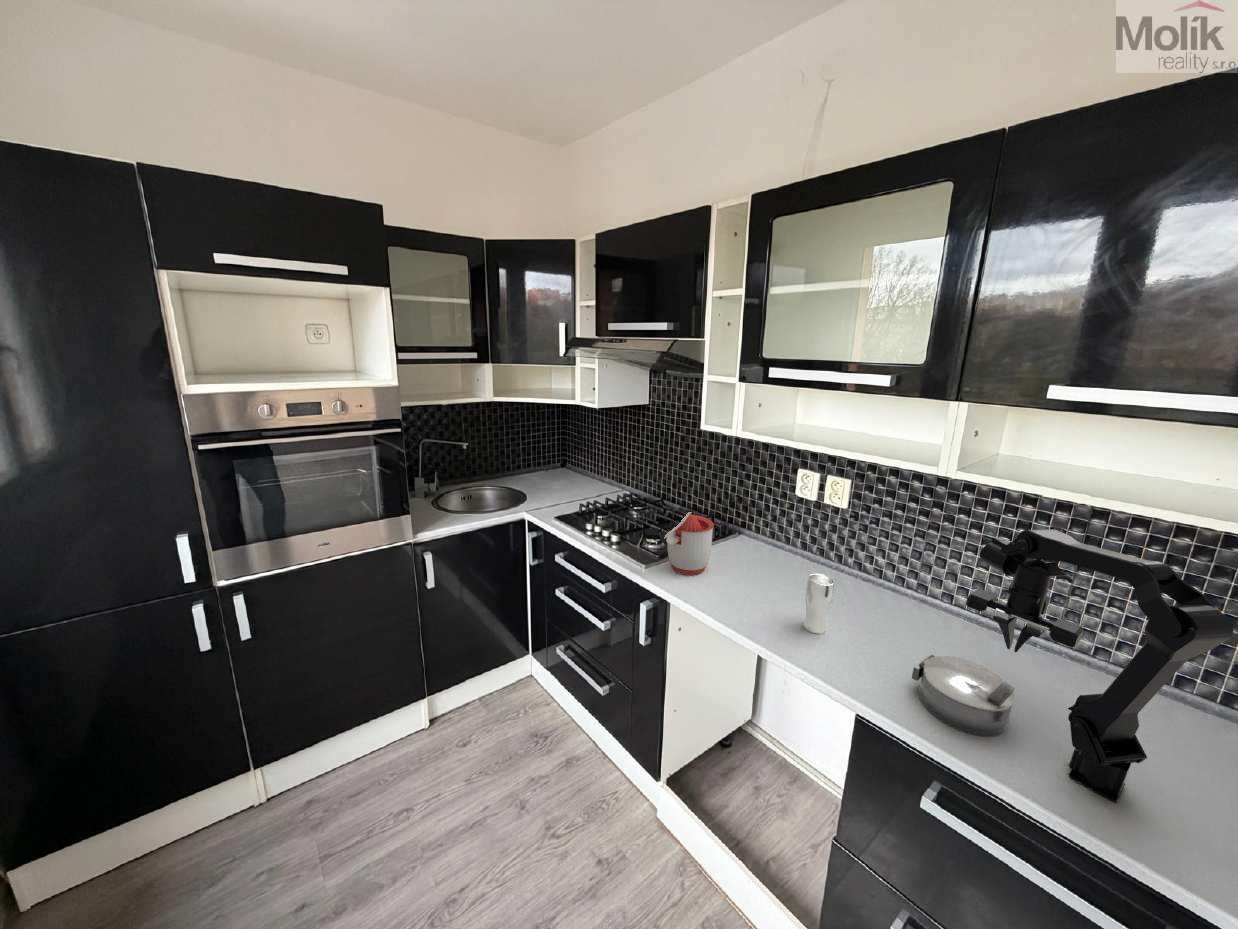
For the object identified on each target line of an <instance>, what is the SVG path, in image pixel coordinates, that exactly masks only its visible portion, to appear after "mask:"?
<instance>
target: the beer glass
mask: <svg viewBox="0 0 1238 929" xmlns="http://www.w3.org/2000/svg"><path fill="white" fill-rule="evenodd" d="M805 586H806V587H805V612H806V613H805V618H804V621H803V623H802V627H803V628H804V629H805V630H806V631H807V632H809V633H812V634H815V635H822V634H824V633H826V632H827V630H828V628H827V618H828V614H829V611H830V609H831V606H832V603H833V599H834V593H835V591H834V590H835V580H834V578H832V577H831V576H829V575H827V574H823V573H812V574H811V573H810V574H809V575H808V579H807V582H806V585H805Z"/></svg>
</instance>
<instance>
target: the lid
mask: <svg viewBox="0 0 1238 929" xmlns="http://www.w3.org/2000/svg"><path fill="white" fill-rule="evenodd" d="M928 656H929V657H928V658H927V659H925V658H924V659H925V660H924V661H923V662H922V663H920V662H919V663H920V664H919V667H920V668H924V669H923V672H924V675H925V677H926V679H927V680H928V682H929V683H930V684H931V685H932V686H933V687H934V688H935V689H936V690H938V691H939V692H940V693H942V694H943V695H945V696H947V697H948V698H950V699H952V700H954V701H956V702H958V703H960V704H963V705H965V706H968V707H971V708H975V709H979V710H984V711H1003V710H1007V709H1009V708H1010V707H1011V706H1012V707H1013V705H1012V704H1014V701H1015V694H1014V691H1015V687H1014V686H1012V685H1011V684H1009V683H1008V682H1007V681H1006V680H1004V679H1003V678H1002V677H1001V676H1000V675H998V674H997V673H996V672H994V671H992V670H990V669H989V668H987V667H985V666H983V665H980V664H978V663H976V662H973V661H971V660H967V659H965V658H961V657H956V656H950V655H949V656H948V655H938V656H937V655H936V656H935V655H934V654H930V655H928Z"/></svg>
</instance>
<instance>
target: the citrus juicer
mask: <svg viewBox="0 0 1238 929" xmlns="http://www.w3.org/2000/svg"><path fill="white" fill-rule="evenodd" d="M714 527H715V525H714V522H713V521H712V520H711V519H709V518H707V517H705V516H702V515H697V514H692V513H689V514H688V515H687V517H686V518H685V519H684V520H683V521H682V523H681V524H680V525H679V526H678V527H677V528H675V529H674V530H673V531H672V532H670V533H669V534H668V535H667V536H666V538H665V539H666V543H667V555H668V560H669V564H670V566H671V569H672V570H673V571H675V572H677V573H679V574H681V575H682V574H683V575H685V576H691V575H699V574H701V573H703V572H704V571H705V569H706V568H707V566H708V564H709V560H710V559H711V552H712V544H713V543H712V542H713V530H714V529H713V528H714Z"/></svg>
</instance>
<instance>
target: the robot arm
mask: <svg viewBox="0 0 1238 929" xmlns="http://www.w3.org/2000/svg"><path fill="white" fill-rule="evenodd" d="M979 558H980V560H981V562H982V563H984V564H986V565H988V566H989V567H991V568H993V569H995V570H997V571H999V572H1000V573H1003V574H1004V575H1007V576H1013V578H1012V581H1011V583H1010V585H1009V586H1008V588H1007V589H1008V590H1007V595H1008V597H1007V600H1006V603H1003V602H1000V601H998V595H997V594H995V593H992V592H989V591H986V590H984V589H981V588H978V589H975V590H974V591H972V592H971V593H970V594H968V595H967V597H966V602H965V606H967V607H968V608H971V609H974V610H975V611H979V612H984V611H986V610H987V609H988V608H989V609H993V610H995V614H994V616H992V620H993V621H995V622H996V623H997V624H998V626H999V629H1000V631H1001V633H1002V636H1003V639H1004V642H1005V647H1006V649H1007V650H1011V649H1012V645H1013V643H1014V636H1015V628H1016V623H1017V619H1018V620H1021V621H1023V622H1026V625H1025V626H1024V627H1022V628H1021V630H1020V633H1019V635H1018V637H1017V641H1016V643H1015V645H1014V650H1013V653H1017V652H1019V650H1020V649H1022V647H1023V646H1024V645H1025V643H1027V641H1029V640H1030V639H1031V638H1032V637H1035V638H1041V636H1043V634H1044V633H1046V632H1047V631H1049V634H1048V635H1049V637H1050V638H1051V640H1052V641H1054V642H1056V643H1059V644H1062V645H1064V646H1066V647H1069V648H1075V647H1076V646H1077V645H1078V643H1079V642H1080V641H1081V640H1082V639H1083V635H1084V629H1083V627H1082V625H1079V624H1077V623H1074V622H1071V621H1069V620H1065V619H1063V618H1058V619H1057V620H1056V621H1055V622H1054V621H1052V620H1050V619H1047V618H1046V617H1043V616H1044V615H1045V613H1046V611H1047V610H1048V606H1049V604H1050V601H1051V597H1049V596H1047V595H1048V589H1049V586H1050V583H1051V579H1052V577H1064V576H1065V572H1064V570H1063V569H1062V568H1061V567H1060V566H1059V565H1058V563H1057V562H1062V563H1067V564H1070V565H1073V566H1077V567H1080V568H1083V569H1087V570H1090V571H1093V572H1096V573H1100V574H1104V575H1107V576H1109V577H1110V576H1111V577H1113V578H1116V579H1120V580H1124V581H1126V582H1128V583H1129V584H1130V585H1131V586H1132V587H1133V588H1134V593H1135V598H1136V602H1137V605H1138V607H1139V609H1140V610H1141V612H1142V613H1143V614H1144V615H1145V616H1146V618H1147V622H1146V624H1145V626H1144V634H1145V643H1144V644H1143V646H1142V647H1141V648H1140V649H1139V650H1138V652H1136V654H1134V656H1133V657H1132V659H1130V661H1129V662H1128V663H1127V664H1126V666H1125V667H1124V668H1123V670H1121V671H1120V673H1118V675H1117V676H1116V677H1115V679H1114V680H1113V681H1112V682H1111V684H1109V686H1108V687H1107V688H1106V690H1105V691H1104V692H1103V693H1090V694H1080V695H1079V696H1078V697H1077V698H1076V700H1075V702H1074V704H1073V705H1071V706H1069V707H1067V709H1068V710H1069V711H1070V712H1069V714H1068V718H1067V720H1068V722H1069V727H1070V735H1071V736H1070V737H1071V745H1072V747H1073V748H1074V750H1073V752H1072V755H1071V759H1070V762H1069V764H1068V768H1069V769H1070V771H1069V773H1068V777H1069V778H1070V779H1071V780H1074V781H1075V782H1076V783H1079V784H1081V785H1083V786H1084V787H1086V788H1088V789H1090V790H1091V791H1093V792H1095V793H1096V794H1099V795H1100V796H1102V797H1103V798H1106V799H1107V800H1109V801H1111V802H1112V803H1115V804H1116V803H1118V801H1119V799H1120V797H1121V795H1122V793H1123V790H1124V789H1125V786H1126V783H1125V781H1126V779H1127V777H1128V774H1129V770H1130V768H1131V766H1132V765H1131V764H1134V763H1136V764H1141V763H1143V762H1144V761H1145V760H1147V759H1148V756H1147V754H1146V752H1145V750H1144V749H1143V746H1142V745H1141V743H1140V740H1139V739H1138V737H1137V735H1136V733H1137V731H1138V729H1139V727H1140V723H1139V716H1138V715H1139V713H1140V711H1142V709H1143V708H1145V707H1146V705H1147V704H1148V703H1149V702H1151V700H1152V698H1154V697H1155V695H1156V694H1158V693H1159V691H1160V690H1161V689H1162V688H1163V687H1164V686H1165V685H1166V684H1167V682H1169V680H1171V678H1172V677H1173V676H1174V675H1175V674H1176V673H1177V672H1178V671H1179V670H1180V669H1181V668H1182V667H1183V666H1184V664H1185V663H1186V662H1187V661H1189V660H1190V659H1193V658H1195V657H1198V656H1199V655H1203V654H1204V653H1207V652H1209V651H1212V650H1213V649H1215V648H1217V647H1218V646H1220V645H1222V644H1223V643H1225V642H1226V641H1228V640H1229V639H1231V637H1232V636H1233V634H1234V627H1233V626H1232V625H1231V621H1230V620H1229V619H1228V617H1227V616H1226V614H1224V613H1223V612H1222V611H1221V610H1219V609H1217V607H1216V606H1214V604H1213V603H1212V602H1211V600H1209V599H1208V597H1207V596H1206V595H1205V594H1204V593H1202V592H1201V591H1199V589H1196V588H1195V587H1193V586H1192V585H1191V584H1189V583H1188V582H1187V581H1185V580H1183V579H1182V578H1181V577H1180V576H1179V575H1178V574H1177V573H1176V572H1175V570H1174V569H1173V568H1172V567H1171V566H1170V565H1168V564H1166V563H1163V562H1161V561H1159V560H1158V561H1156V560H1155V561H1154V560H1148V559H1144V558H1140V557H1136V556H1133V555H1128V554H1125V553H1122V552H1121V553H1120V552H1116V551H1113V550H1109V549H1105V548H1101V547H1097V546H1093V545H1089V544H1085V543H1082V542H1079V541H1077V540H1076V539H1075V538H1073V537H1072V536H1071V535H1069V534H1067V533H1064V532H1062V531H1061V530H1060V531H1059V530H1057V529H1051V528H1049V529H1048V528H1047V529H1024V530H1022V531H1021V532H1019V533H1018V535H1017V536H1016V538H1015V539H1013V540H1012V541H1007V540H1006V539H1005V538H1003V537H1001V536H997V537H996V536H994V537H991V541H990V542H987V544H985V545H984V547H982V549H981V550H980V551H979ZM1047 561H1050V562H1047ZM1051 561H1052V562H1051ZM1161 592H1162V593H1163V594H1165V595H1166V596H1168V597H1169V598H1171V599H1172V600H1173V601H1174V602H1176V603H1178V604H1179V605H1178V604H1177V605H1174V604H1173V605H1169V604H1168V602H1166V600H1165V599H1164V598H1163V596H1162V593H1161Z"/></svg>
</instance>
